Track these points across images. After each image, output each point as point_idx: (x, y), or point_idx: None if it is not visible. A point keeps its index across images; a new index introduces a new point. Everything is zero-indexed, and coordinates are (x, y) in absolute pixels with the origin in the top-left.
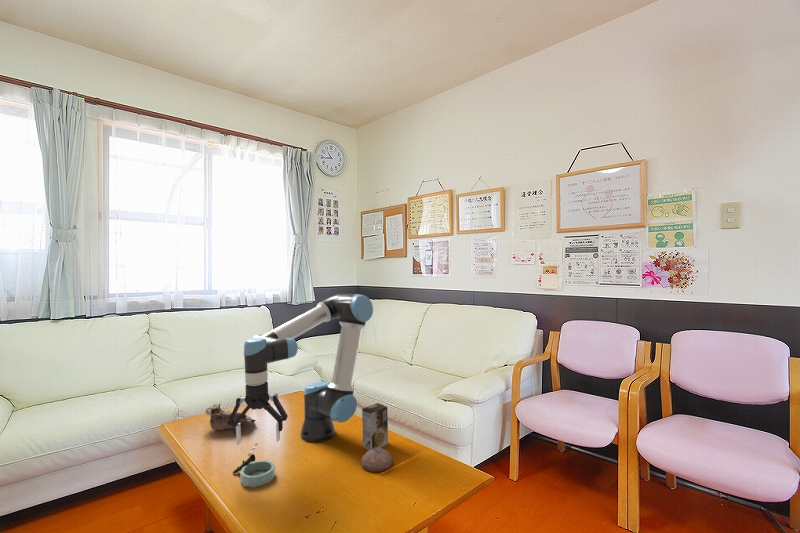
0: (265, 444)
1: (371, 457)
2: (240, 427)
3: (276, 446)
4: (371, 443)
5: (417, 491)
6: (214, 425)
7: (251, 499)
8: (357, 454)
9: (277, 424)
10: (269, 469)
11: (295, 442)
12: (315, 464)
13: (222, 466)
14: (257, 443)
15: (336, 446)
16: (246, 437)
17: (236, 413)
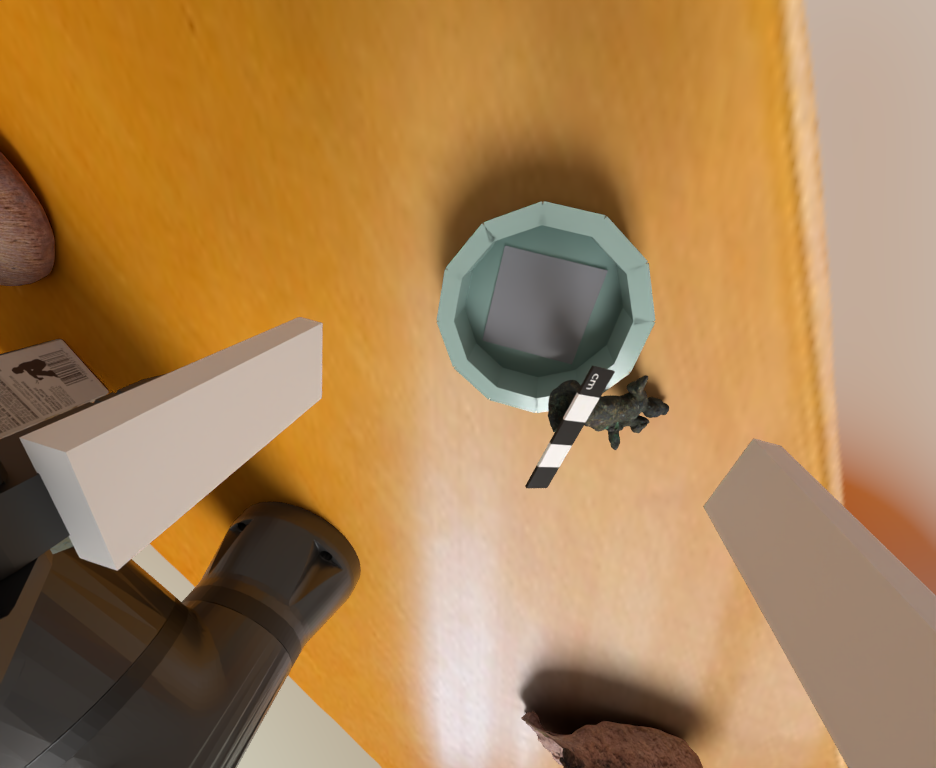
0: (492, 572)
1: None
2: (816, 702)
3: (448, 540)
4: (16, 353)
5: None
6: (689, 764)
7: (599, 47)
8: (112, 341)
9: (61, 427)
10: (475, 346)
11: (375, 534)
12: None
13: (701, 494)
14: (527, 485)
15: None
16: (563, 646)
17: None
